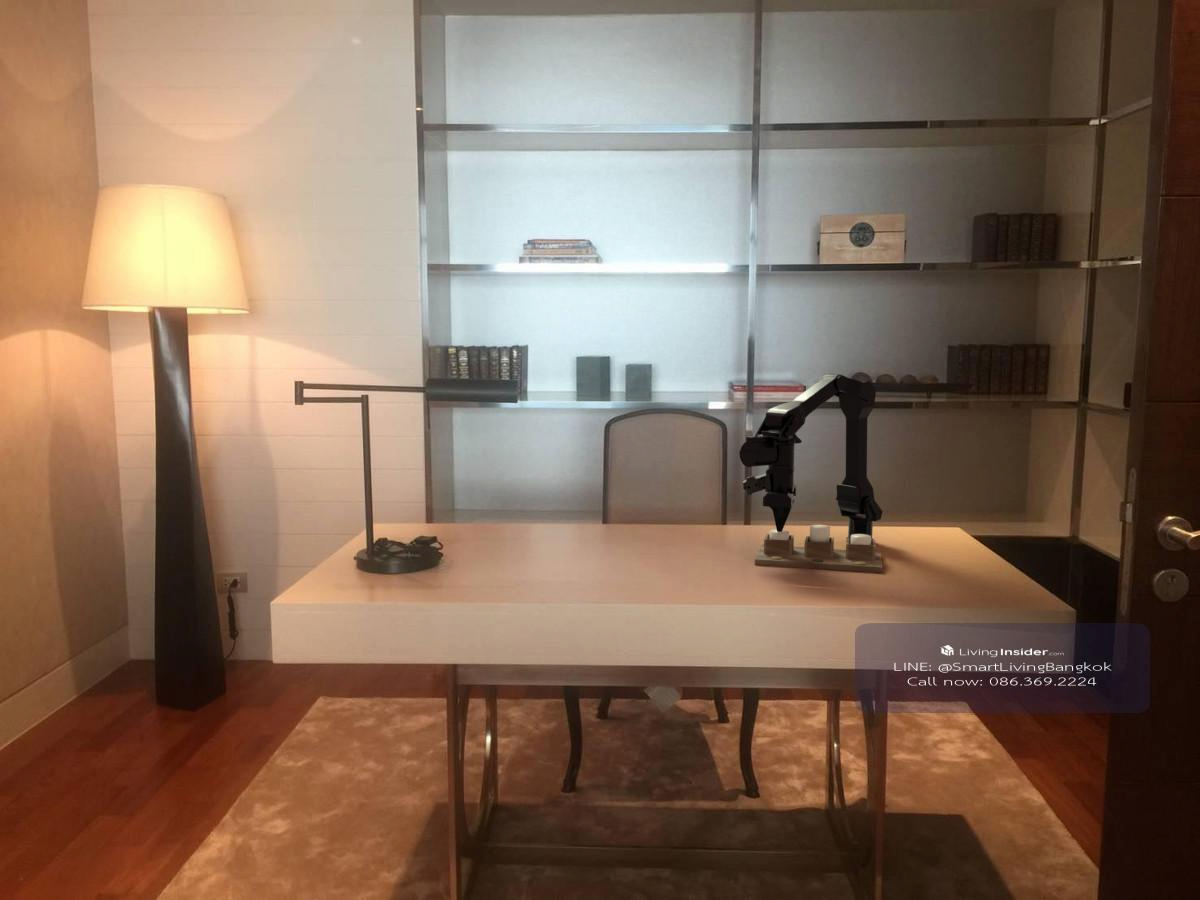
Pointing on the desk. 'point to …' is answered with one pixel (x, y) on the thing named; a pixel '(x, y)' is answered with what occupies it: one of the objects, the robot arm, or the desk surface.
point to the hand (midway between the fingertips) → (779, 531)
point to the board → (819, 555)
